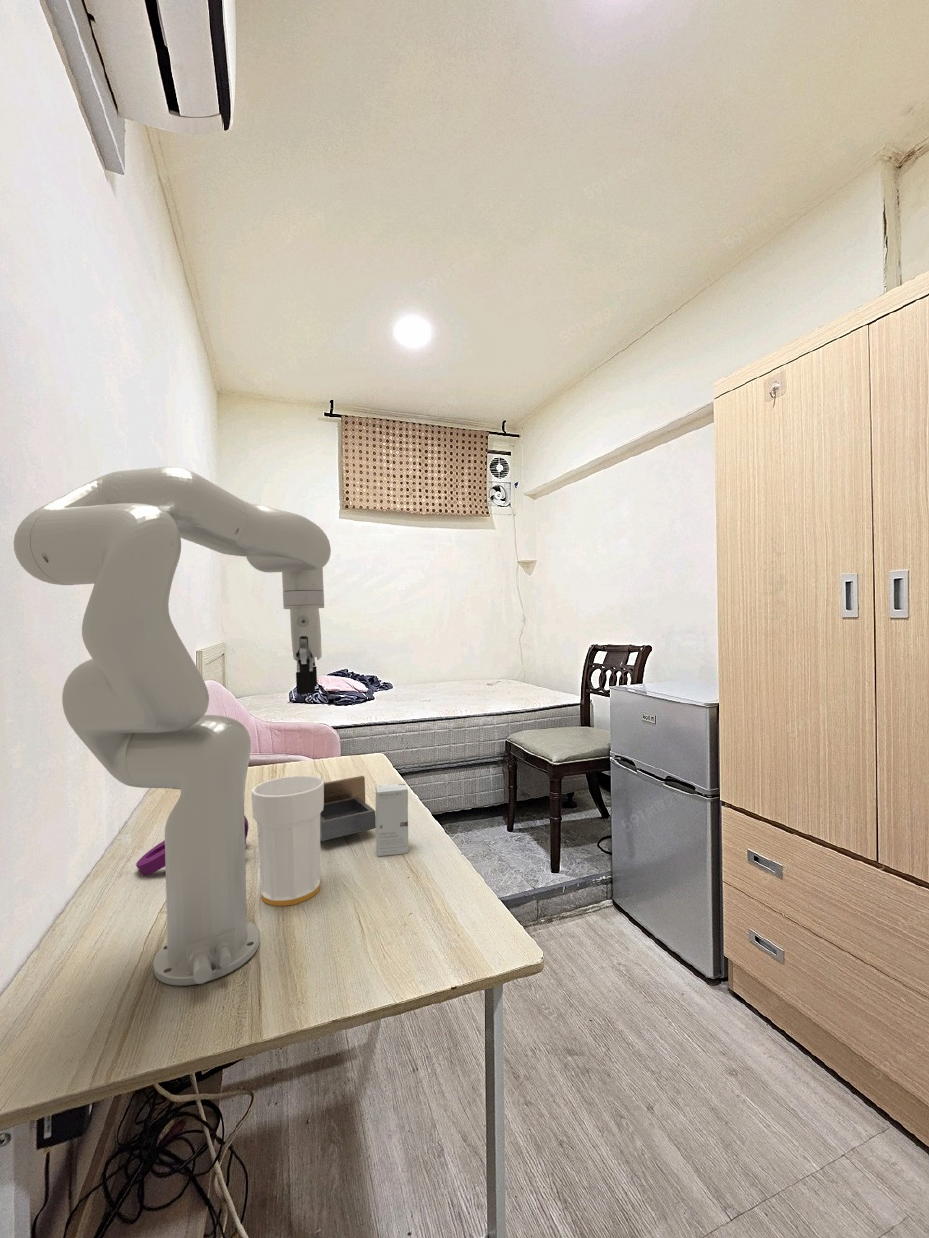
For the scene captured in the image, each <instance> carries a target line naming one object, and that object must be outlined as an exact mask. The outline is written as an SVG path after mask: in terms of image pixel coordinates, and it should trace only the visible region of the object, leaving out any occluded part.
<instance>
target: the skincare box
mask: <svg viewBox="0 0 929 1238" xmlns="http://www.w3.org/2000/svg"><path fill="white" fill-rule="evenodd" d="M408 795H409V793H408V787H407V785H406V783H396V784H395V783H393V784H390V783H389V784H384V785H383V784H382V785H376V786H375V816H376V828H375V844H376V845H375V848H376V849H375V850H376V856H377V857H382V856H383V857H384V856H392V855H403V854H404V855H405V854H408V852H409V810H408V809H409V796H408Z"/></svg>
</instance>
